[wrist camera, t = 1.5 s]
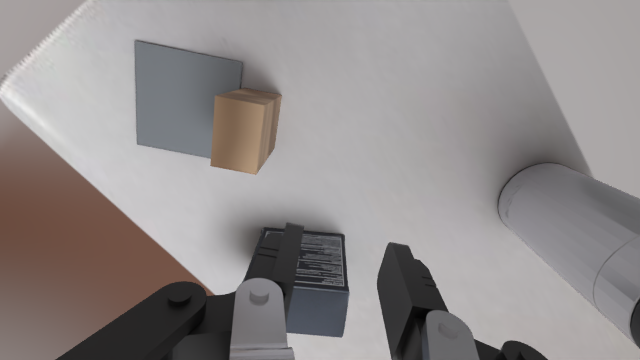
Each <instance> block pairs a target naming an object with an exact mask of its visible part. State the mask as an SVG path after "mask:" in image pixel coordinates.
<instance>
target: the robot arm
mask: <svg viewBox="0 0 640 360" xmlns="http://www.w3.org/2000/svg"><path fill="white" fill-rule="evenodd" d="M498 209H499V215H500V217H501V219H502V221H503V223H504V224H505V225H506V226H507V227H508V228H509V229H510V230H511V231H512V232H513V233H514V234H516V235H517V236H518V237H519V238H520V239H521V240H522V241H523V242H524V243H525V244H526V245H527V246H528V247H529V248H531V249H532V250H533V251H534V252H535V253H536V254H537V255H538V256H539V257H540V258H541V259H543V260H544V261H545V262H546V263H547V264H548V265H549V266H550V267H551V268H552V269H553V270H555V271H556V272H557V273H558V274H559V275H560V276H561V277H562V278H563V279H564V280H565V281H567V282H568V283H569V284H570V285H571V286H572V287H573V288H574V289H575V290H576V291H577V292H579V293H580V294H581V295H582V296H583V297H584V298H585V299H586V300H587V301H588V302H589V303H591V304H592V305H593V306H594V307H595V308H596V309H597V310H598V311H599V312H600V313H601V314H603V315H604V316H605V317H606V318H607V319H608V320H609V321H610V322H612V323H613V324H614V325H615V326H616V327H617V328H618V329H619V330H620V331H621V332H622V333H624V334H625V335H626V336H627V337H628V338H629V339H630V340H631V341H632V342H633V343H634V344H636V345H637V346H638V347H639V348H640V199H639V198H637V197H635V196H632V195H630V194H628V193H625V192H623V191H621V190H618V189H616V188H614V187H612V186H609V185H607V184H605V183H602V182H600V181H598V180H595V179H593V178H591V177H589V176H586V175H584V174H582V173H579V172H577V171H575V170H572V169H570V168H568V167H565V166H563V165H560V164H555V163H543V164H537V165H534V166H531V167H528V168H526V169H524V170H523V171H521V172H519V173H518V174H517V175H515V176H514V177H513V178H512V179H511V180H510V181H509V182H508V183H507V185H506V186H505V187H504V189H503V191H502V193H501V196H500V199H499V206H498ZM303 230H304V226H301V225H296V224H291V223H287V224H286V227H285V231H284V234H277V233H272V232H271V233H270V234H269V235H267V236H266V237H265V238H263V241H262V243H261V246H260V248H259V251H258V254H257V256H256V259H255V261H254V264H253V266H252V269H251V271H250V274H249V276H248V279H247V281H244V282H243V283H241V284H240V285H239V287H238V288H237V290H236V291H235V292H232V293H229V294H225V295H214V296H207V295H206V292H205V290H204V288H202V287H201V286H200V285H198V284H196V283H193V282H175V283H171V284H169V285H166V286H164V287H162V288H161V289H159V290H158V291H157V292H155V293H153V294H152V295H151V296H149V297H148V298H146V299H145V300H143V301H142V302H140V303H139V304H137V305H136V306H134V307H133V308H131V309H130V310H128V311H127V312H125V313H124V314H122V315H121V316H119V317H118V318H117V319H115V320H114V321H112V322H111V323H109V324H108V325H106V326H105V327H103V328H102V329H100V330H99V331H97V332H96V333H94V334H93V335H91V336H90V337H88V338H87V339H86V340H84V341H82V342H81V343H80V344H78V345H77V346H75V347H74V348H72V349H71V350H69V351H68V352H66V353H65V354H63V355H62V356H60V357H59V358H57V359H56V360H295V357H294V352H293V349H292V347H288V344H287V334H286V323H287V318H288V313H289V308H290V303H291V298H292V293H293V287H294V282H295V276H296V271H297V265H298V259H299V253H300V248H301V242H302V236H303ZM377 290H378V295H379V300H380V304H381V309H382V314H383V319H384V324H385V329H386V334H387V339H388V344H389V349H390V354H391V359H392V360H548V359H547V358H545V357H544V356H543V355H542V354H541V353H539V352H538V351H537V350H535V349H534V348H532V347H530V346H528V345H526V344H524V343H521V342H518V341H507V342H505V343H504V344H503V346H502V348H501V350H498V349H496V348H494V347H491V346H489V345H487V344H484V343H482V342H480V341H477V340H475V339H474V338H473V335H472V332H471V330H470V329H469V327H468V326H467V325H466V324H465V323H464V322H463V321H462V320H461V319H459V318H458V317H456V316H455V315H453V314H451V313H449V311H448V309H447V307H446V305H445V303H444V301H443V299H442V297H441V295H440V293H439V290H438V288H436V284H435V282H434V280H433V278H432V276H431V274H430V271H429V269H428V268H427V267H426V266H425V265H424V264H423V263H422V262H421V261H420V260H417V259H414V257H413V255H412V253H411V250H410V248H409V246H408V245H402V244H397V243H392V242H390V243H389V244H388V245H387V248H386V251H385V254H384V257H383V261H382V264H381V267H380V270H379V273H378V279H377Z"/></svg>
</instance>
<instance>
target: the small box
mask: <svg viewBox="0 0 640 360" xmlns="http://www.w3.org/2000/svg"><path fill="white" fill-rule="evenodd" d="M284 231H285V229H273V228H264V229H263V230H262V231H261V236H260V239H259V242H258V244H257V247H256V249H255V252H254V255H253V257H252V260H251V262H250V265H249V268H248V270H247V273H246V276H245V278H244V280H243V282H244V281H247V279H248V276H249V274H250V271H251V269H252V266H253V264H254V261H255V259H256V256H257V254H258V251H259V248H260V246H261V243H262V241H263V238H265V237H266V236H267V235H269V234H270V233H271V232H272V233H277V234H284ZM344 242H345V236H344V235H340V234H329V233H319V232H307V231H303V236H302V242H301V248H300V253H299V259H298V265H297V271H296V276H295V282H294V287H293V293H292V298H291V303H290V308H289V313H288V318H287V323H286V333H296V334H308V335H319V336H330V337H343V333H344V327H345V321H346V314H347V307H348V300H349V287H348V280H347V266H346V255H345V243H344ZM243 282H242V283H243Z"/></svg>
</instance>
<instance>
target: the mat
mask: <svg viewBox="0 0 640 360" xmlns="http://www.w3.org/2000/svg"><path fill="white" fill-rule="evenodd" d="M242 64H243V62H238V61H233V60H228V59H223V58H218V57H213V56H208V55H203V54H198V53H193V52H188V51H183V50H178V49H174V48H169V47H164V46H159V45H154V44H149V43H144V42H139V41H135V77H136V119H137V144H138V145H143V146H148V147H154V148H159V149H164V150H169V151H175V152H180V153H185V154H190V155H195V156H201V157H206V158H211V150H212V135H213V120H214V105H215V96H216V95H220V94H224V93H227V92H231V91H235V90H239V89H240V85H241V75H242Z"/></svg>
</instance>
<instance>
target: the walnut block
mask: <svg viewBox="0 0 640 360" xmlns="http://www.w3.org/2000/svg"><path fill="white" fill-rule="evenodd" d="M281 98H282V95H278V94H273V93H268V92H263V91H258V90H253V89H248V88H243V89H239V90H235V91H231V92H227V93H224V94H220V95H216V96H215V105H214V120H213V135H212V150H211V165H210V166H213V167H219V168H224V169H229V170H234V171H240V172H245V173H250V174H255V175H256V174H257V173H258V171H259V170H260V168H261V167H262V165H263V164H264V163H265V161H266V160H267V158H268V157H269V155H270V154H271V152H272V151H273V150H274V147H275V140H276V133H277V126H278V119H279V112H280V105H281Z"/></svg>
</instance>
